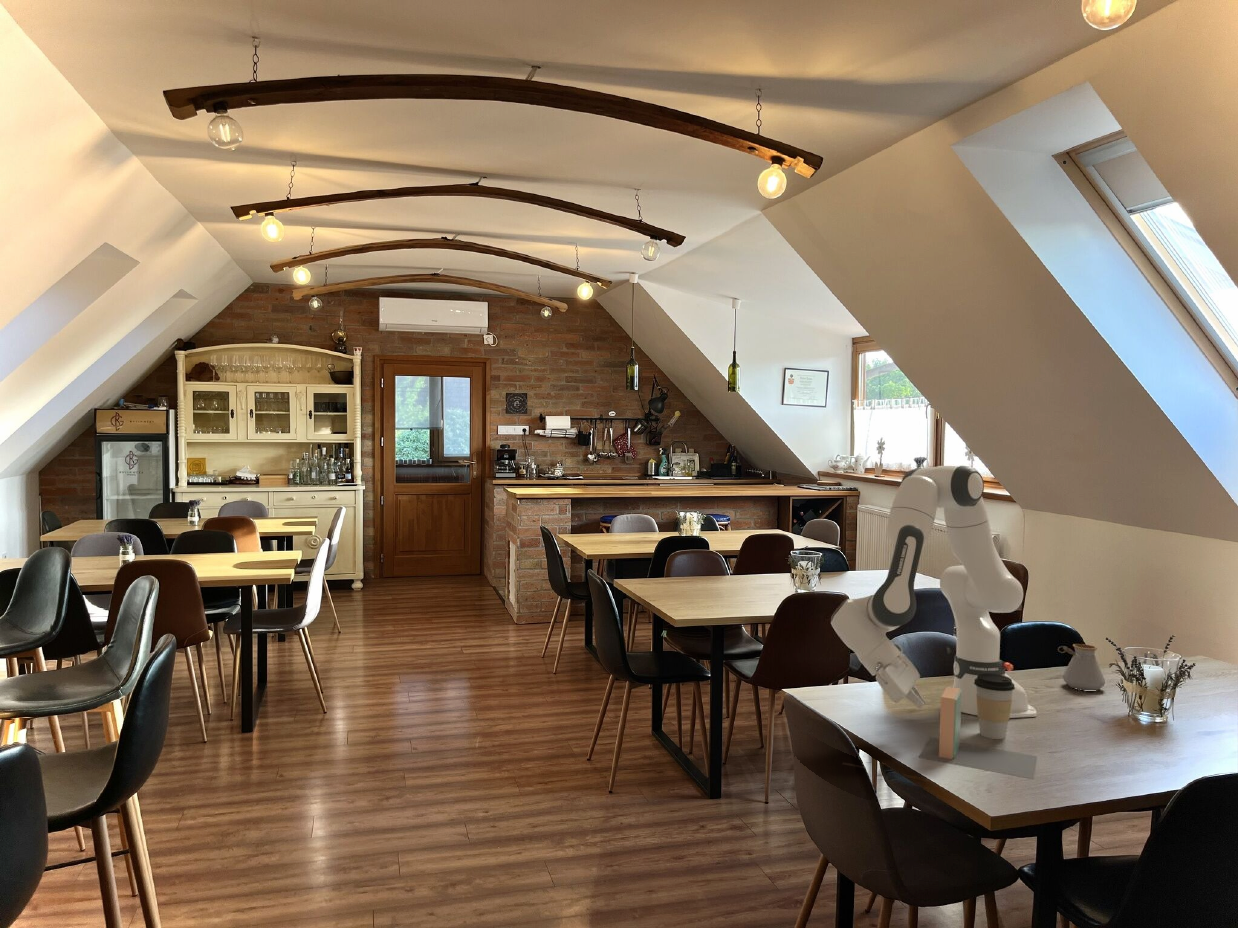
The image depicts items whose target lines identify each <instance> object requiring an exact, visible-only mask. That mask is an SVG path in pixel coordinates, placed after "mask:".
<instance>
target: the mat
mask: <svg viewBox="0 0 1238 928" xmlns="http://www.w3.org/2000/svg"><path fill="white" fill-rule="evenodd" d="M939 740H940V738H936V737H933V736H929V738H928V740H927V742H926V743H925V745H924V747H923V748H922V751H921V752H920V754H919V755H918V758H920V759H925V760H929V761H934V762H941V763H946V764H950V765H957V766H962V767H968V768H972V769H977V770H983V771H987V772H991V773H992V772H993V773H999V774H1003V775H1007V776H1008V775H1009V776H1013V777H1018V778H1019V777H1020V778H1025V779H1029V780H1030V779H1031V780H1034V779H1035V772H1036V766H1037V760H1038V756H1037V755H1032V754H1027V753H1023V752H1022V753H1020V752H1016V751H1010V750H1004V749H998V748H993V747H987V746H983V745H982V746H981V745H976V744H971V743H965V742H960V746H959V748H958V751H957V753H956V755H955V758H953V759H949V758H943V757H939Z"/></svg>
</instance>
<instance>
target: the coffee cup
mask: <svg viewBox="0 0 1238 928" xmlns="http://www.w3.org/2000/svg"><path fill="white" fill-rule="evenodd" d="M1009 677H1010V676H1009ZM1009 677H1006V676H1003V675H998V674H988V673H985V674H979V675H978V676H977V678H976V679H975V680H974V681H975V682H974V684H975V685H976V687H977V694H976V697H977V711H978V716H977V717H978V726H979V727H978V728H979V735H980V736H982V737H984V738H986V739H987V738H988V739H991V740H1004V739H1006V737H1007V730H1008V724H1009V721H1010V718H1009V717H1010V710H1011V703H1012V692H1013V690H1014V689H1015V687H1014V684H1013V683H1012V679H1013V678H1012V679H1011V677H1010V678H1009Z"/></svg>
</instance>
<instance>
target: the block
mask: <svg viewBox="0 0 1238 928" xmlns="http://www.w3.org/2000/svg"><path fill="white" fill-rule="evenodd" d="M961 697H962V690H960V688H954V687H953V686H947V687H946V688H945V689H944V691H943V693H942V695H941V696H940V714H939V739H940V740H939V757H943V758H949V759H953V758H955V755H956V753H957V751H958V748H959V746H960V743H961V724H962V723H961V720H962V719H961V717H962V712H961Z"/></svg>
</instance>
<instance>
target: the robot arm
mask: <svg viewBox="0 0 1238 928" xmlns="http://www.w3.org/2000/svg"><path fill="white" fill-rule="evenodd" d="M984 489H985V484H984V479H983V476H982V474H981V473H980V472H979V471H978V469H976V468H975V467H972V466H969V465H968V466H967V465H956V466H955V465H938V466H930V467H924V468H922V467H917V468H914V469H911V470H909V471H907V472H906V473H905V474H904V476H903V477H902V479H901V482H900V485H899V487H898V489H897V492H896V494H895V496H894V499H893V501H892V504H891V508H890V510H889V515H888V518H887V526H886V536H887V537H886V538H888V540H889V542H890V543H891V544H892V546H893V547H892V548H893V551H892V555H891V559H890V564H889V568H888V572H887V576H886V579H885V581H884V582H883V584H881V585H880V586H879V588H878V589H877V590H876V591H875V593H874V594H871V595H868V596H864V597H860V598H851V599H849V598H846V599H844V600H843V601H842V602H840V603H841V604H840V605H839V606H838V607H837V608H836V609H835V611H833V614H831V618H830V624H831V627H832V629H834V631H835V633H836V634H837V636H838V637H839V638H840V640H841V641H842V642H843V643H844V645H846V647H848V648H849V649H850V650H852V651H853V652H854V654H855V655H856V656H857V659H858V661H859V662H860V663H861V664H862V665H863V666H864V668H865V669H866V670H867V671H868V672H869V673H870V674H871V676H872V677H873V676H875V680H876V682H877V683H878V684H879V686H880V687H881V688H882V690H883V691H884V693H885V694H886V695H887V696H888V697H889V699H890V700H891V701H893V703H895V704H896V703H897V704H898V703H899V702H901V700H902V699H904V698H906V699H907V700H908V701H910V702H911V703H913V704H914V706H915V707H916V708H917V709H921V708H922V707H924V705H925V703H926V701H927V700H925V699H924V697H923V696H922V695H921V692H920V691H919V689H918V688H917V686H916V683H917V682H918V681H919V679H920V678H921V674H920V673H919V671H918V670H917V668H916V667H915V665H914V664H913V663H912V662H911V660H910V659H909V658H908V657H907V656H906V655H905V654H904V653H903V648H902V647H901V646H900V645H899V644H897V643H895V642H892V641H891V640H890V639H889V638H888V637H887V635H886V634H887V632H891V631H893V630H896V629H898V628H899V627H902V626H904V625H906V624H907V623H909V622H911V620H913V618H914V616H915V614H916V611H917V598H916V594H915V580H916V577H917V576H916V575H917V571H918V566H919V562H920V558H921V553H922V552H923V549H924V548H925V546H926V544H927V542H928V540H929V537H930V535H931V532H932V530H933V526H934V523H935V518H936V515H937V509H941V508H943V515H944V522H945V527H946V528H945V529H946V533H947V537H948V542H949V548H950V551H951V553H952V554H953V556H954V557H955V558H956V559H958V561H959V562H960V564H962V565H952V566H949V567H947V568H946V569H945V570H944V571H943V572H942V574H941V575H940V578H939V579H940V580H939V587H940V588H939V589H940V591H941V592H942V594H943V596H944V597H945V598H946V599H947V601H948V604H949V605H950V608H951V611H952V614H953V617H954V621H955V628H956V630H955V631H956V650H955V651H956V654H955V655H954V660H953V662H954V663H953V675H954V681H953V685H952V687H954V688H960V690H962V697H961V713H964V714H968V715H973V716H977V717H978V711H977V697H976V694H977V687H976V685H975V684H974V682H975V681H974V680H975V679H976V678H977V676H978V675H979V674H985V673H988V674H998V675H1003V676H1006V677H1009V678H1011V677H1010V675H1008V674H1007V673H1006V671H1008V672H1011V671H1013V669H1014V665H1013V664H1011V663H1010V662H1005V661H1003V660H1001V659H1000V652H1001V649H1000V648H1001V647H1000V645H1001V632H1000V630H999V628H998V627H997V626H996V624H995V623H994V622H993V620H992V618H991V616H990V613H989V612H991V613H994V614H995V613H996V614H997V613H998V614H1000V613H1001V614H1004V613H1005V614H1006V613H1013V612H1014V611H1016V610H1018V609H1019V607H1020V606H1021V605H1022V602H1023V599H1024V589H1023V586H1022V584H1021V582H1020V581H1019V580H1018V579H1017V578H1016V577H1014V576H1013V574H1012V573H1010V571H1009V570H1008V568H1007V567H1006V566H1005V564H1004V562H1003V559H1002V558H1001V557H1000V555H999V553H998V550H997V549H996V546H995V542H994V538H993V534H992V529H991V525H990V520H989V519H990V518H989V515H988V511H987V508H986V504H985V500H984V498H983V494H984V491H985V490H984ZM1011 679H1012V683H1013V684H1014V687H1015V689H1014V690H1013V692H1012V703H1011V710H1010V717H1009V719H1012V718H1013V719H1014V718H1016V719H1017V718H1032V717H1034V718H1035V717H1037V714H1038V713H1037V710H1036V709H1035V708H1034V707H1033V706H1032V705H1030V704H1029V702H1028V701H1029V700H1028V696H1027V693H1026V690H1025V689H1024V688H1023V687H1022V686H1021V684H1019V683H1018V682H1016V681H1015V680H1014V679H1013V678H1011Z"/></svg>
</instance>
